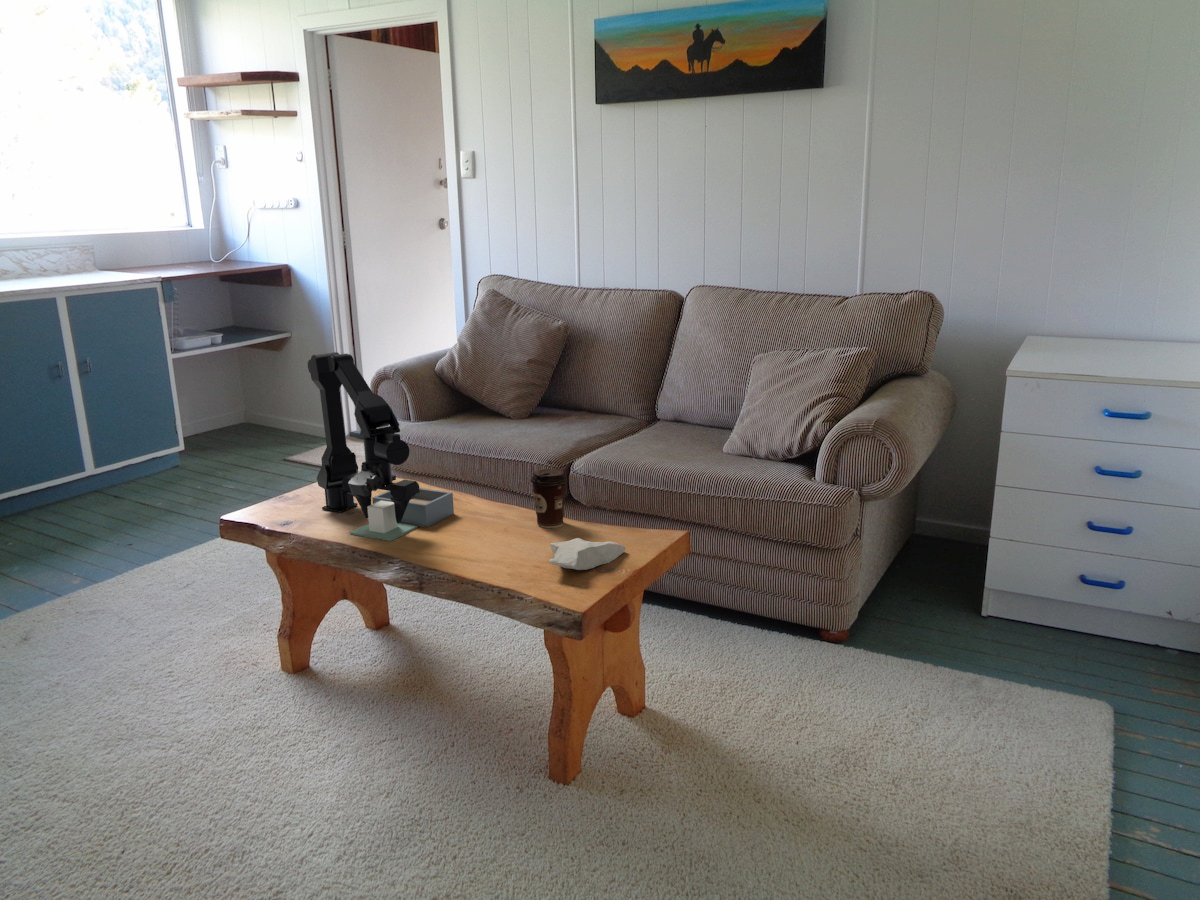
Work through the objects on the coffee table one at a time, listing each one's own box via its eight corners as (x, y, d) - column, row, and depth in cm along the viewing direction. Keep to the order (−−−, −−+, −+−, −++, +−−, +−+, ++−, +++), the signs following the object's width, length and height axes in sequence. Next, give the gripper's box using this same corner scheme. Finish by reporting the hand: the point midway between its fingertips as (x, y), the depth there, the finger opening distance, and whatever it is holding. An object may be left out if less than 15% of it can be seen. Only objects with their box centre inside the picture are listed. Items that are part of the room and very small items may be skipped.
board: (350, 534, 215) (349, 532, 215) (377, 521, 224) (377, 519, 223) (390, 541, 210) (390, 539, 210) (417, 527, 218) (417, 525, 218)
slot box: (374, 518, 225) (372, 497, 224) (402, 505, 235) (400, 485, 233) (427, 527, 218) (425, 505, 217) (453, 513, 228) (452, 492, 226)
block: (369, 530, 215) (367, 506, 214) (383, 524, 220) (381, 500, 218) (384, 533, 213) (382, 508, 212) (398, 526, 218) (396, 502, 216)
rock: (517, 571, 192) (571, 581, 182) (516, 549, 191) (570, 558, 182) (583, 549, 208) (636, 557, 199) (582, 529, 208) (635, 536, 198)
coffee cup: (538, 532, 213) (536, 478, 210) (527, 521, 221) (525, 469, 218) (573, 526, 217) (571, 474, 213) (561, 516, 224) (559, 465, 221)
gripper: (322, 460, 209) (328, 525, 213) (387, 469, 201) (392, 536, 205) (355, 449, 219) (361, 511, 223) (418, 457, 211) (423, 521, 215)
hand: (383, 520), depth 216 cm, fingers open, 9 cm apart
